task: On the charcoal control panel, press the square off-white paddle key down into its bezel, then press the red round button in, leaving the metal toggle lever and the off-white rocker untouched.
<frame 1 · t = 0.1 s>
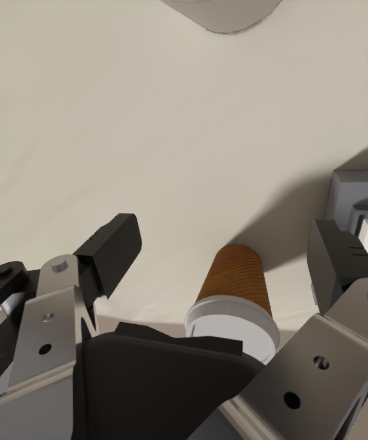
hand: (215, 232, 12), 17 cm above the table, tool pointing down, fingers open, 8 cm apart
disposable coffee cup: (237, 262, 34), on the table
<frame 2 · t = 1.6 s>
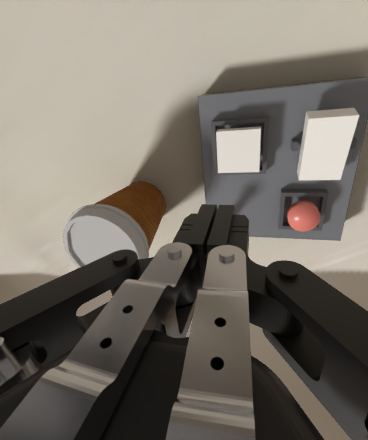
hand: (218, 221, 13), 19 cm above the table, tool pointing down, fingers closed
paddle: (238, 150, 24), point 5 cm above the table, slide at 0.0 cm
disposable coffee cup: (145, 202, 36), on the table
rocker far: (324, 147, 23), point 5 cm above the table, hinge at 14.0°
panel: (272, 164, 29), on the table
button: (303, 216, 26), point 5 cm above the table, slide at 0.0 cm
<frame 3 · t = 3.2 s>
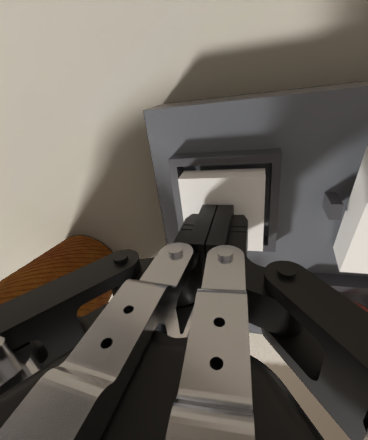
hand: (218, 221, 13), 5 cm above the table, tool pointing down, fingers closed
paddle: (223, 210, 13), point 4 cm above the table, slide at -0.5 cm, touching gripper
toggle: (171, 364, 15), point 8 cm above the table, hinge at 20.0°
disposable coffee cup: (91, 261, 24), on the table
panel: (284, 221, 17), on the table
button: (344, 327, 14), point 5 cm above the table, slide at 0.0 cm
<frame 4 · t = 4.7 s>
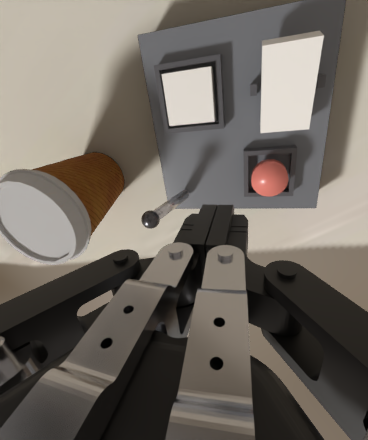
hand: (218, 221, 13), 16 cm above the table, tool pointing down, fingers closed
paddle: (190, 97, 21), point 4 cm above the table, slide at -1.1 cm
toggle: (160, 212, 23), point 8 cm above the table, hinge at 20.0°
disposable coffee cup: (102, 176, 32), on the table
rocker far: (286, 87, 18), point 5 cm above the table, hinge at 14.0°
panel: (236, 122, 25), on the table
button: (269, 177, 22), point 5 cm above the table, slide at 0.0 cm
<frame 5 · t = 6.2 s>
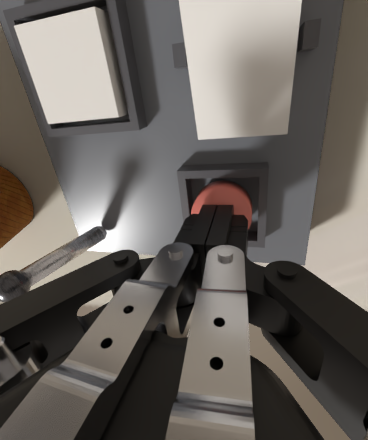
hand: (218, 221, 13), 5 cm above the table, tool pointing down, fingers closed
paddle: (76, 73, 12), point 4 cm above the table, slide at -1.1 cm
toggle: (38, 270, 14), point 8 cm above the table, hinge at 20.0°
disposable coffee cup: (4, 195, 23), on the table
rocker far: (240, 47, 9), point 5 cm above the table, hinge at 14.0°
panel: (178, 122, 15), on the table
button: (221, 212, 13), point 4 cm above the table, slide at -0.8 cm, touching gripper
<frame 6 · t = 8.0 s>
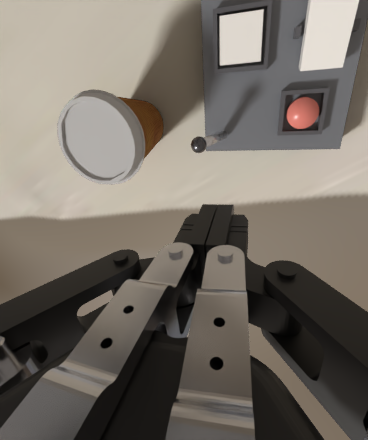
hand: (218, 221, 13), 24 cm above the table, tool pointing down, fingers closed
paddle: (240, 39, 25), point 4 cm above the table, slide at -1.1 cm
toggle: (205, 142, 27), point 8 cm above the table, hinge at 20.0°
disposable coffee cup: (142, 124, 35), on the table
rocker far: (327, 28, 22), point 5 cm above the table, hinge at 14.0°
panel: (273, 72, 29), on the table
button: (302, 112, 26), point 4 cm above the table, slide at -1.0 cm
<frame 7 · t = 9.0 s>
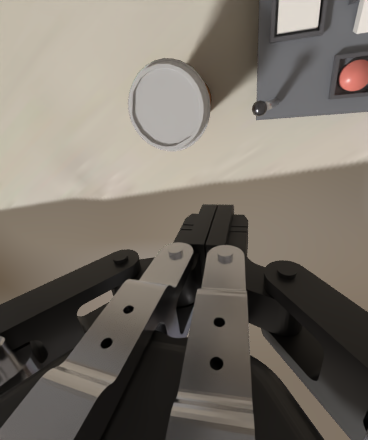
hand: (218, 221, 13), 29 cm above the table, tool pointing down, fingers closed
paddle: (298, 7, 27), point 4 cm above the table, slide at -1.1 cm
toggle: (263, 106, 29), point 8 cm above the table, hinge at 20.0°
disposable coffee cup: (190, 100, 37), on the table
panel: (323, 40, 30), on the table
button: (354, 75, 28), point 4 cm above the table, slide at -1.0 cm
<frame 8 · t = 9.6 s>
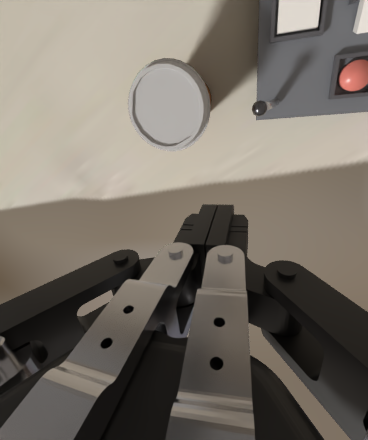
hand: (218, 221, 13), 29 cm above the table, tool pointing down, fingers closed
paddle: (298, 7, 27), point 4 cm above the table, slide at -1.1 cm
toggle: (263, 106, 29), point 8 cm above the table, hinge at 20.0°
disposable coffee cup: (190, 100, 37), on the table
panel: (323, 40, 30), on the table
button: (354, 75, 28), point 4 cm above the table, slide at -1.0 cm
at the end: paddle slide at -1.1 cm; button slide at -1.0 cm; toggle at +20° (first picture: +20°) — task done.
